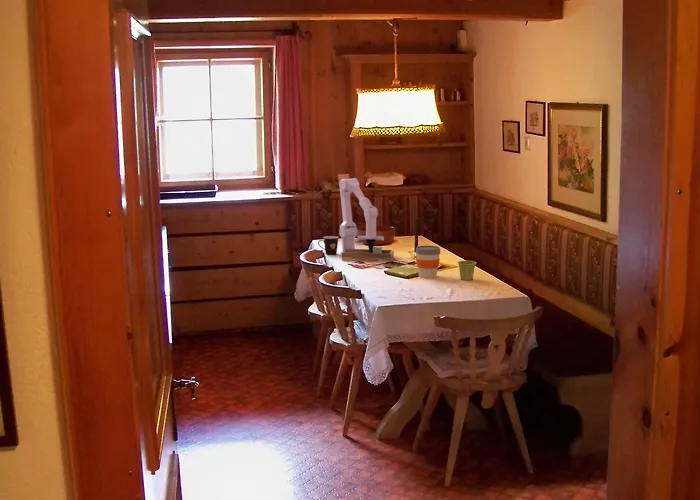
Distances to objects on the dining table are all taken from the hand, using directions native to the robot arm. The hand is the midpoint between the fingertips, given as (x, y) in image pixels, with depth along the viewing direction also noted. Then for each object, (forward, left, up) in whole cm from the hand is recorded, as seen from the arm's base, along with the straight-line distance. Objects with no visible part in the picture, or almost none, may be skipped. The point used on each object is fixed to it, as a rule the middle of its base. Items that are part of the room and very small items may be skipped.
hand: (370, 252), depth 487 cm
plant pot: (+49, +56, -4) cm, 74 cm away
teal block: (0, +4, -1) cm, 4 cm away
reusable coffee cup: (+45, +36, -4) cm, 57 cm away
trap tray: (+3, -1, -3) cm, 5 cm away
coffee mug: (-9, -26, -4) cm, 28 cm away
